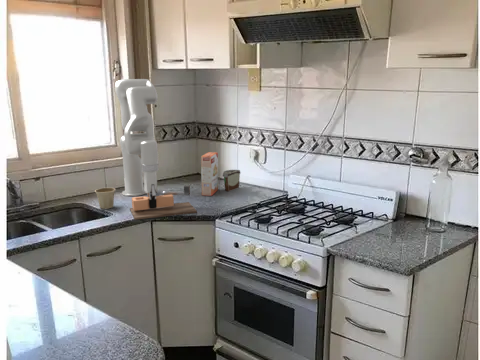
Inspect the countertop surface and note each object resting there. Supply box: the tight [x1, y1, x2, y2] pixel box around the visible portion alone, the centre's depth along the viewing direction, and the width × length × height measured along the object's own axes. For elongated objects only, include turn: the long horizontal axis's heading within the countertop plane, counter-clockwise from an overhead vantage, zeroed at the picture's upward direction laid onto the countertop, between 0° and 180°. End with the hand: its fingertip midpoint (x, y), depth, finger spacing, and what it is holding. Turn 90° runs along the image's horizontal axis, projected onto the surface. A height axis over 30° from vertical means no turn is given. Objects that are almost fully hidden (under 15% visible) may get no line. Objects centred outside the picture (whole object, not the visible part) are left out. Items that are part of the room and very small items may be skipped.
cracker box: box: [200, 151, 219, 197], centre depth 248 cm, size 14×6×21 cm, turn 168°
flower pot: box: [94, 187, 116, 210], centre depth 224 cm, size 9×9×9 cm
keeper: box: [162, 184, 191, 196], centre depth 222 cm, size 13×3×4 cm, turn 85°
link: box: [131, 194, 175, 211], centre depth 217 cm, size 18×6×4 cm, turn 110°
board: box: [129, 201, 198, 221], centre depth 217 cm, size 16×28×1 cm, turn 110°
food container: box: [222, 169, 242, 192], centre depth 256 cm, size 12×6×10 cm, turn 144°
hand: (152, 206), depth 217 cm, fingers closed on link, 3 cm apart
